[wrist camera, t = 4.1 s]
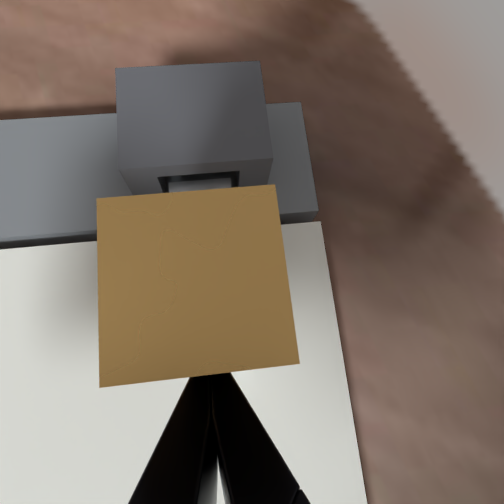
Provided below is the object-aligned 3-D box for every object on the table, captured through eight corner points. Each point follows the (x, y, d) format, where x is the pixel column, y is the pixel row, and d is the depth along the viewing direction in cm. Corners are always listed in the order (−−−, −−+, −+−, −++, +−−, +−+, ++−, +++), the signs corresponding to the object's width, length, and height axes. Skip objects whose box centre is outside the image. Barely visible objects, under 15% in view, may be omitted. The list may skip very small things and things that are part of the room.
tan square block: (255, 361, 15) (299, 363, 6) (177, 370, 15) (99, 387, 6) (237, 193, 17) (249, -2, 8) (166, 199, 17) (93, 4, 8)
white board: (381, 658, 15) (450, 792, 10) (-84, 746, 13) (-245, 947, 9) (295, 120, 20) (315, 51, 16) (-37, 141, 19) (-119, 73, 14)
